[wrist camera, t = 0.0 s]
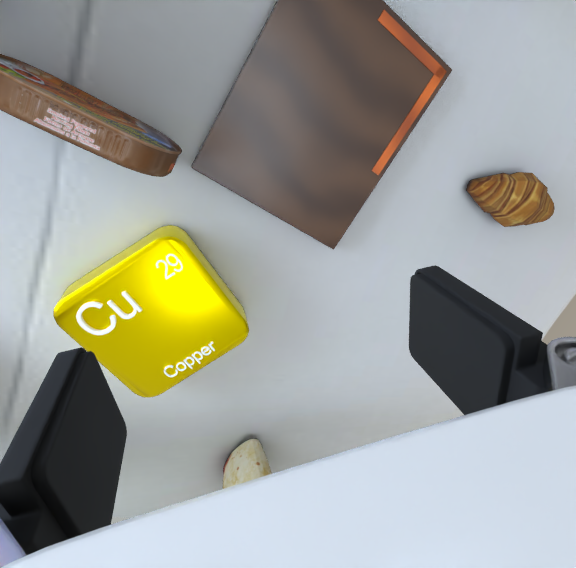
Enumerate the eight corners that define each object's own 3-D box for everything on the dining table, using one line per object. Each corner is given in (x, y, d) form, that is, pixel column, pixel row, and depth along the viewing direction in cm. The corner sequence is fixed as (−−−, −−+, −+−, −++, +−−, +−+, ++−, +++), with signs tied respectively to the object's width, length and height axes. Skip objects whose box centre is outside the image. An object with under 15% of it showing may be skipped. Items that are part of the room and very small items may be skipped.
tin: (183, 143, 37) (182, 152, 29) (170, 173, 37) (167, 189, 30) (6, 50, 31) (-51, 33, 23) (-4, 88, 32) (-63, 83, 24)
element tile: (148, 380, 47) (145, 408, 43) (55, 293, 40) (40, 315, 35) (250, 316, 46) (257, 337, 42) (175, 216, 39) (173, 229, 35)
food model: (235, 428, 53) (259, 585, 36) (276, 436, 56) (317, 587, 38) (208, 476, 56) (218, 645, 38) (248, 482, 59) (275, 643, 41)
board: (310, -63, 32) (314, -69, 31) (445, 70, 40) (453, 69, 39) (191, 166, 38) (191, 168, 37) (330, 246, 45) (334, 249, 44)
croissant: (555, 184, 49) (591, 192, 45) (528, 233, 51) (560, 245, 47) (476, 154, 45) (508, 159, 40) (451, 209, 47) (478, 219, 43)
